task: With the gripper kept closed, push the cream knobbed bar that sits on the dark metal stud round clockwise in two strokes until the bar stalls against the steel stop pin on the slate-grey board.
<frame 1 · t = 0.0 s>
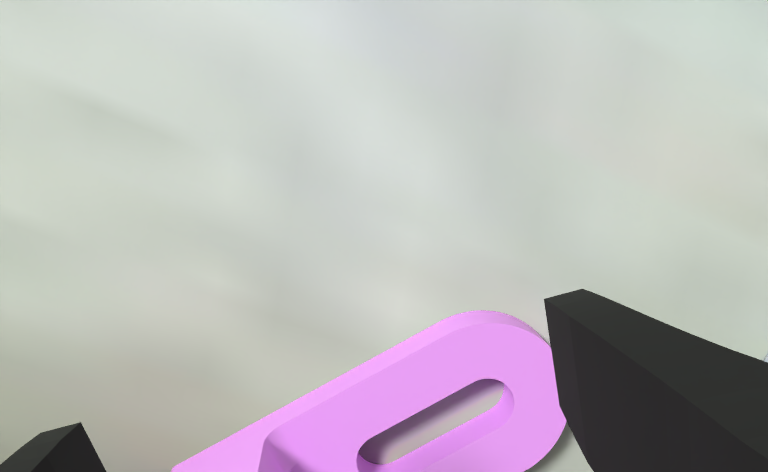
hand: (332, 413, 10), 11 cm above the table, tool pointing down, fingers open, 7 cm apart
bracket: (381, 434, 22), on the table
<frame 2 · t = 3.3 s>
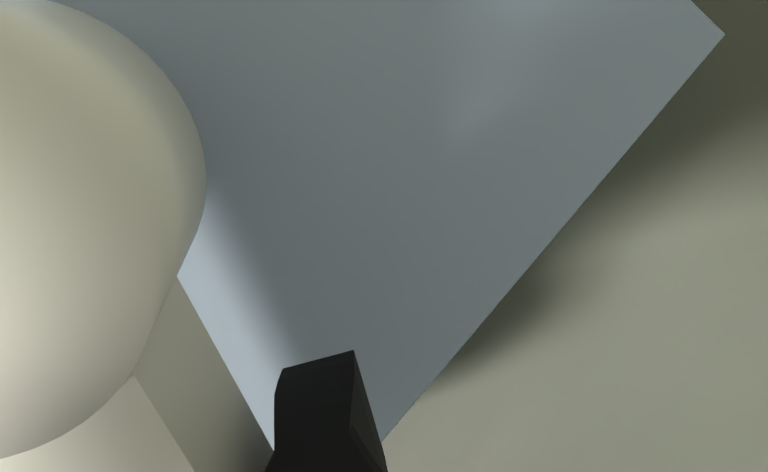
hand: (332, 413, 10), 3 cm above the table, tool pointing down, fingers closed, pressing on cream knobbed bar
board: (106, 126, 10), on the table
cream knobbed bar: (128, 431, 7), point 4 cm above the table, hinge at -3.4°, touching gripper
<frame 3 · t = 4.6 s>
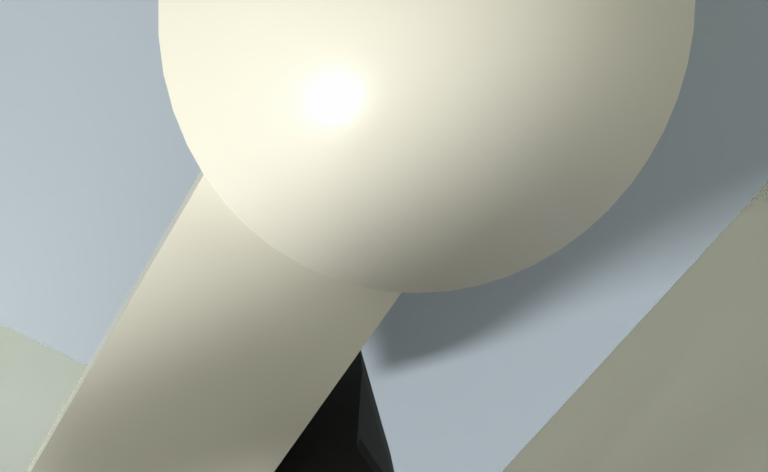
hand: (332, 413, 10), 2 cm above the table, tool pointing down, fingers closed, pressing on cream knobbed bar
board: (361, 18, 10), on the table
cream knobbed bar: (250, 285, 7), point 4 cm above the table, hinge at -57.0°, touching gripper
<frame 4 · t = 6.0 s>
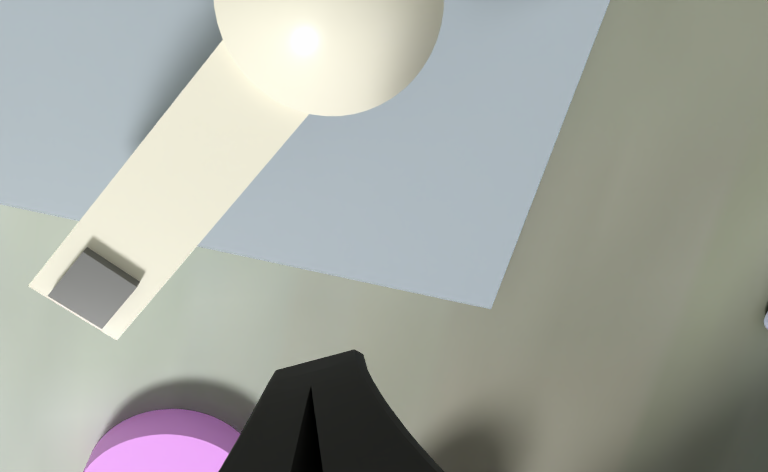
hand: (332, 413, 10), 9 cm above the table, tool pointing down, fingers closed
cream knobbed bar: (232, 117, 13), point 4 cm above the table, hinge at -85.7°
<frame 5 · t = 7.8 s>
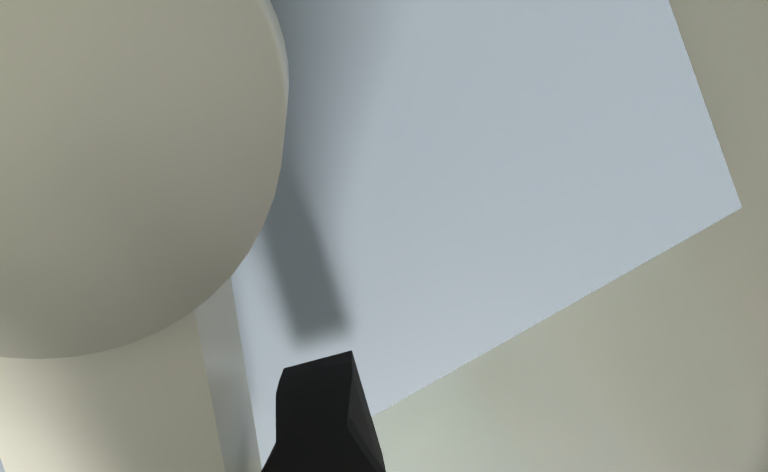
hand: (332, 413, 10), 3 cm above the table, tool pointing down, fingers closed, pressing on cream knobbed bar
board: (163, 53, 10), on the table
cream knobbed bar: (135, 367, 7), point 4 cm above the table, hinge at -86.8°, touching gripper
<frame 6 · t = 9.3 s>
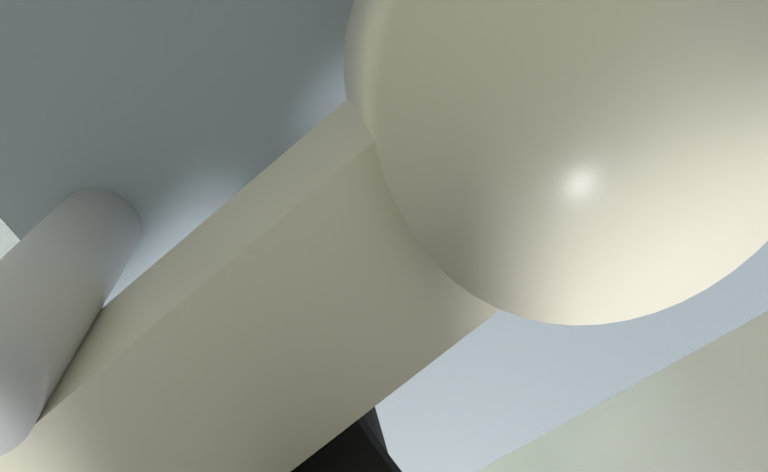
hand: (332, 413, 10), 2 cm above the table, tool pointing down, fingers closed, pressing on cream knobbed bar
board: (448, 47, 10), on the table
cream knobbed bar: (327, 266, 7), point 4 cm above the table, hinge at -140.3°, touching board, gripper
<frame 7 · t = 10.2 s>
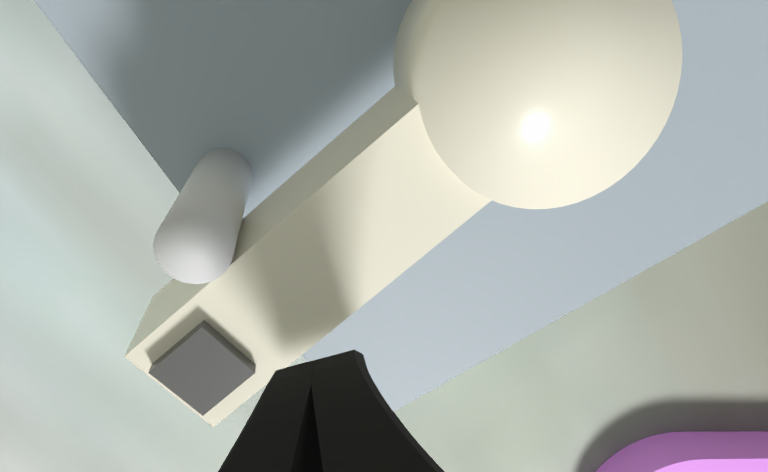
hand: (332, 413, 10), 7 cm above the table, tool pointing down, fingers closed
board: (460, 50, 14), on the table
cream knobbed bar: (386, 185, 11), point 4 cm above the table, hinge at -140.1°, touching board
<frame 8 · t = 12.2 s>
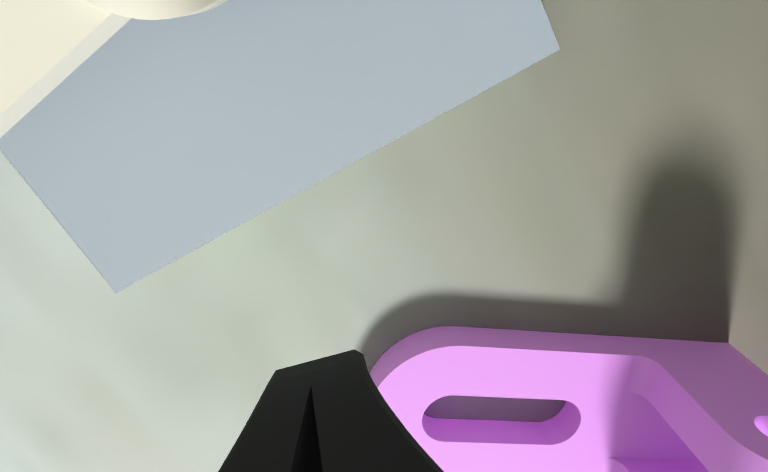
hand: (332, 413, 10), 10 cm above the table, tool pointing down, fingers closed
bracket: (538, 394, 23), on the table
cream knobbed bar: (42, 10, 12), point 4 cm above the table, hinge at -139.4°
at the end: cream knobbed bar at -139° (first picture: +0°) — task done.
